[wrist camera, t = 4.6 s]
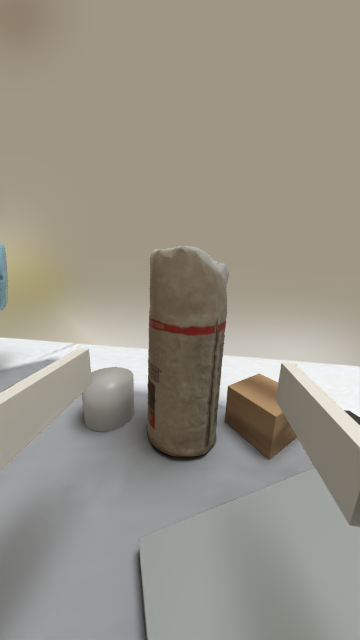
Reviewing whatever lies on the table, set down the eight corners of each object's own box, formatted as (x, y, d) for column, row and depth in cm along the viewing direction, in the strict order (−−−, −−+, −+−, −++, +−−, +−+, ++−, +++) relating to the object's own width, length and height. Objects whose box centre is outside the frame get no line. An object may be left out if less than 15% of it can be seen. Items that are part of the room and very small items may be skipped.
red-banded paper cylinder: (160, 400, 27) (161, 254, 23) (218, 410, 26) (231, 254, 21) (132, 450, 19) (125, 241, 15) (214, 471, 18) (233, 239, 13)
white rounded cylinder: (80, 437, 21) (76, 397, 20) (87, 403, 26) (84, 370, 25) (136, 425, 23) (135, 388, 22) (132, 396, 28) (131, 365, 27)
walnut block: (269, 460, 19) (276, 416, 18) (224, 422, 24) (228, 386, 23) (299, 435, 22) (307, 396, 21) (255, 405, 27) (259, 373, 26)
